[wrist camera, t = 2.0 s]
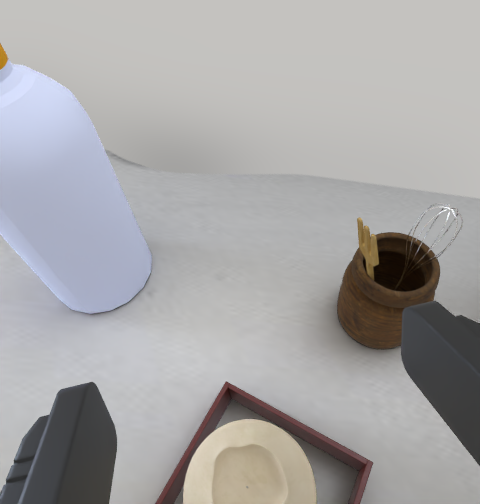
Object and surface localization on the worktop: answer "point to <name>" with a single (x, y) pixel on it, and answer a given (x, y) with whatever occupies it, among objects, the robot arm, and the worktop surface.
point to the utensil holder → (387, 283)
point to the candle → (249, 467)
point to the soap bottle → (64, 196)
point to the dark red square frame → (276, 417)
